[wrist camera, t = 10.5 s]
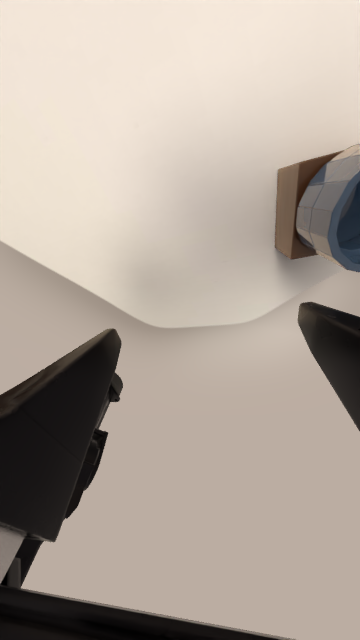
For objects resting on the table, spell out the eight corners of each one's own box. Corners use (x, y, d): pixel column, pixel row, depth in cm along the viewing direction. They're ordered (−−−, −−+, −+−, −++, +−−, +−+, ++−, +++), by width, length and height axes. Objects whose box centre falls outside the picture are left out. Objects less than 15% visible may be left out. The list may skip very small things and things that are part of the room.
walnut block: (347, 233, 17) (382, 243, 13) (274, 247, 18) (290, 260, 15) (367, 145, 14) (420, 129, 10) (277, 169, 15) (299, 162, 11)
